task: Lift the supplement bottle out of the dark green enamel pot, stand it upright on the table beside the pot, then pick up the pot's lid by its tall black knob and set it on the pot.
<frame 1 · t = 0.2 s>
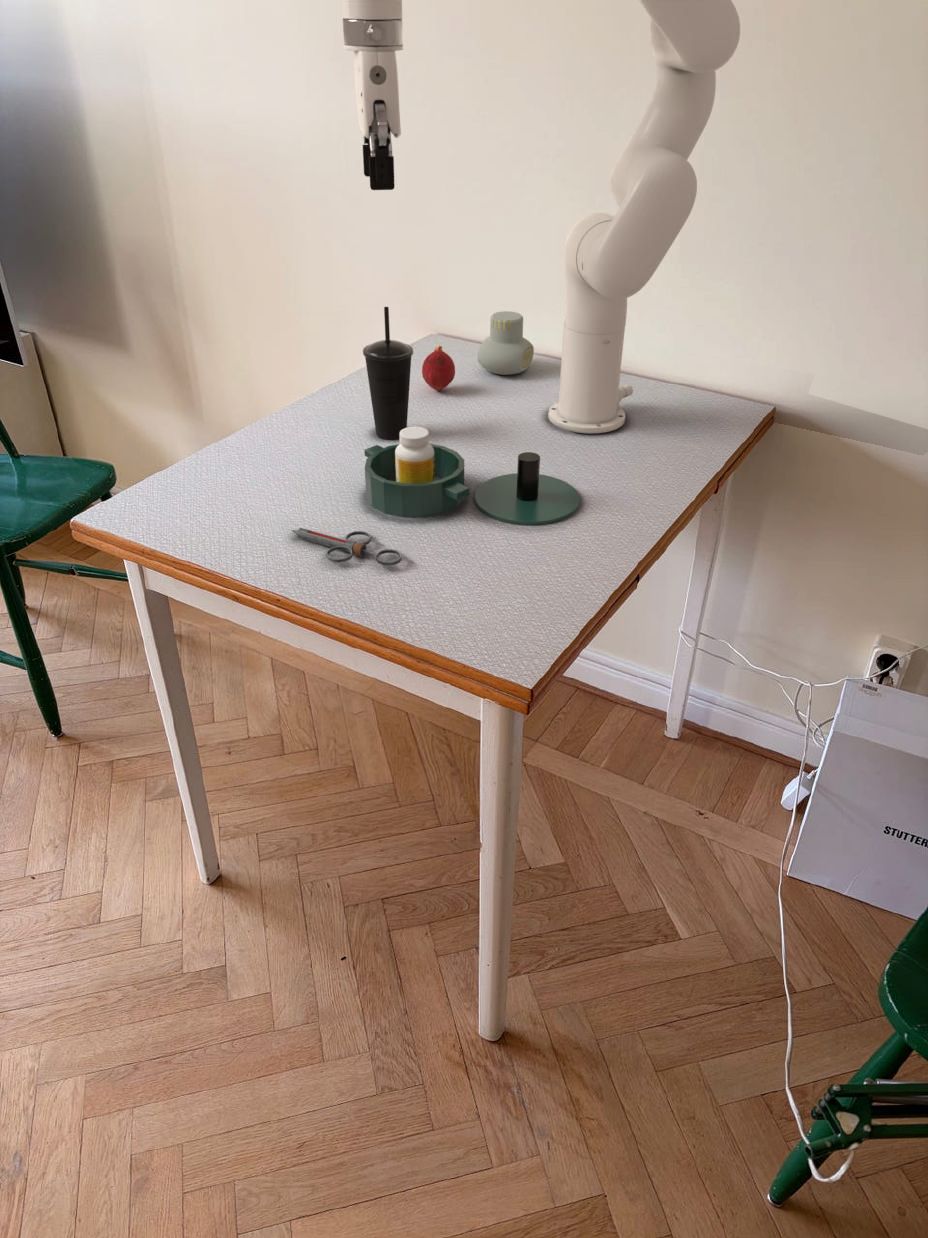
hand: (378, 182, 129), 37 cm above the table, tool pointing down, fingers open, 9 cm apart
onion: (438, 392, 166), on the table
drinking cup: (391, 434, 151), on the table
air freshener: (505, 371, 174), on the table
supplement bottle: (415, 497, 132), resting on pot
pot: (415, 497, 132), on the table
syringe: (339, 550, 121), on the table
lid: (526, 499, 131), point 1 cm above the table
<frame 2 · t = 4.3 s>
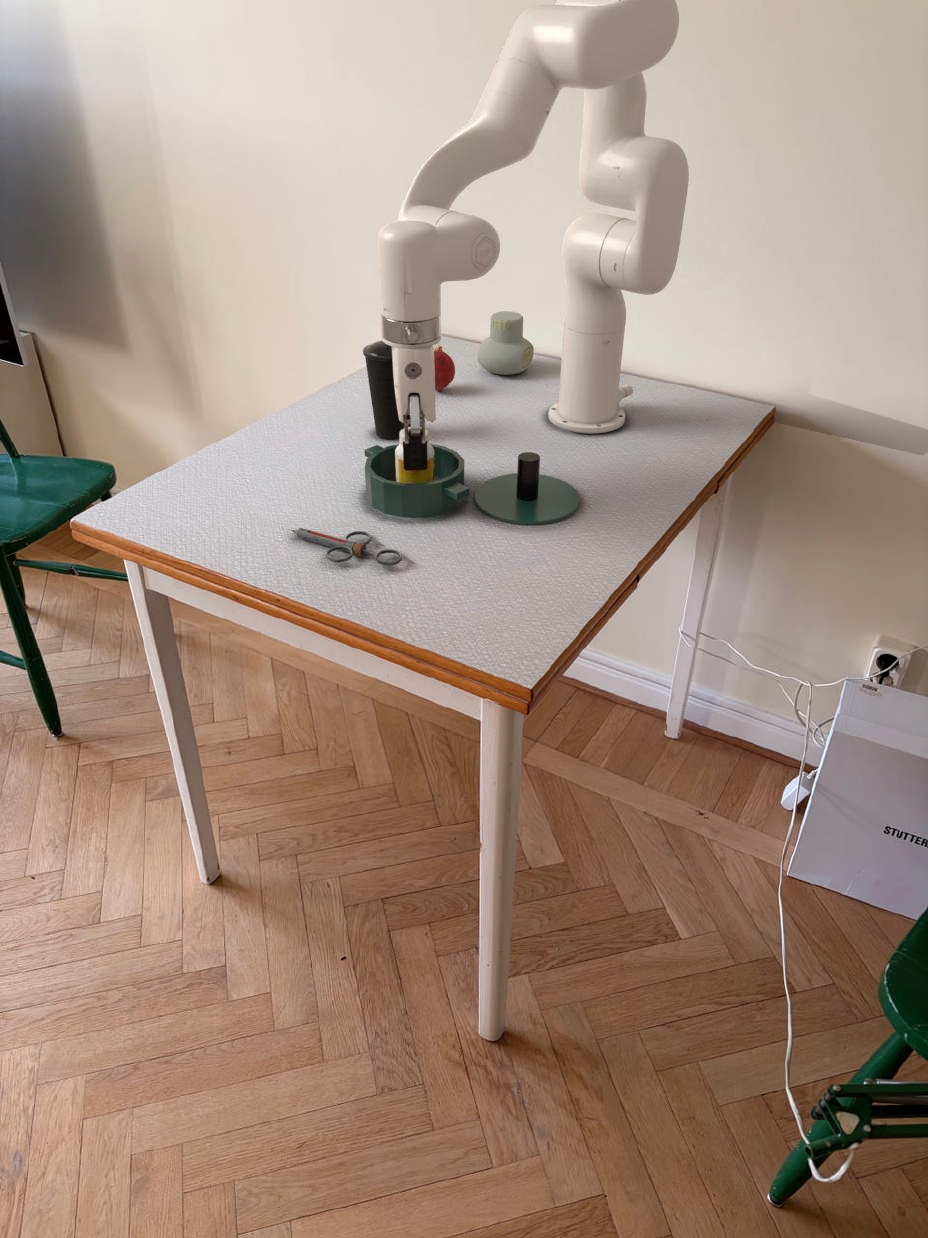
hand: (414, 458, 129), 6 cm above the table, tool pointing down, fingers closed on supplement bottle, 5 cm apart
supplement bottle: (415, 496, 132), resting on pot, touching gripper
everything else where it was.
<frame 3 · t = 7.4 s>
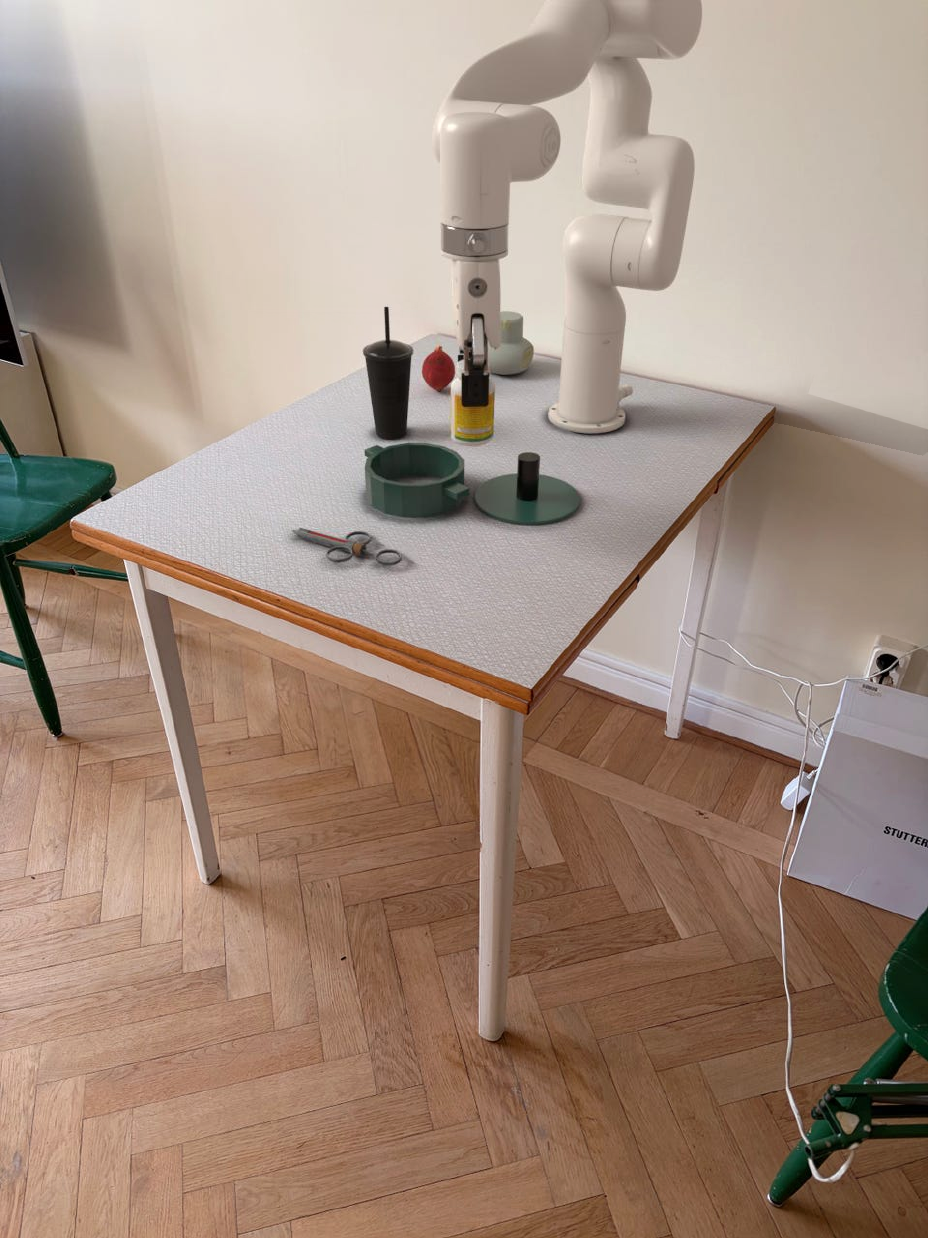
hand: (472, 394, 114), 19 cm above the table, tool pointing down, fingers closed on supplement bottle, 5 cm apart
supplement bottle: (472, 440, 118), point 13 cm above the table, touching gripper
everything else where it was.
when the fingers open (6 cm above the table, at t = 10.7 s): supplement bottle stays where it is, on the table.
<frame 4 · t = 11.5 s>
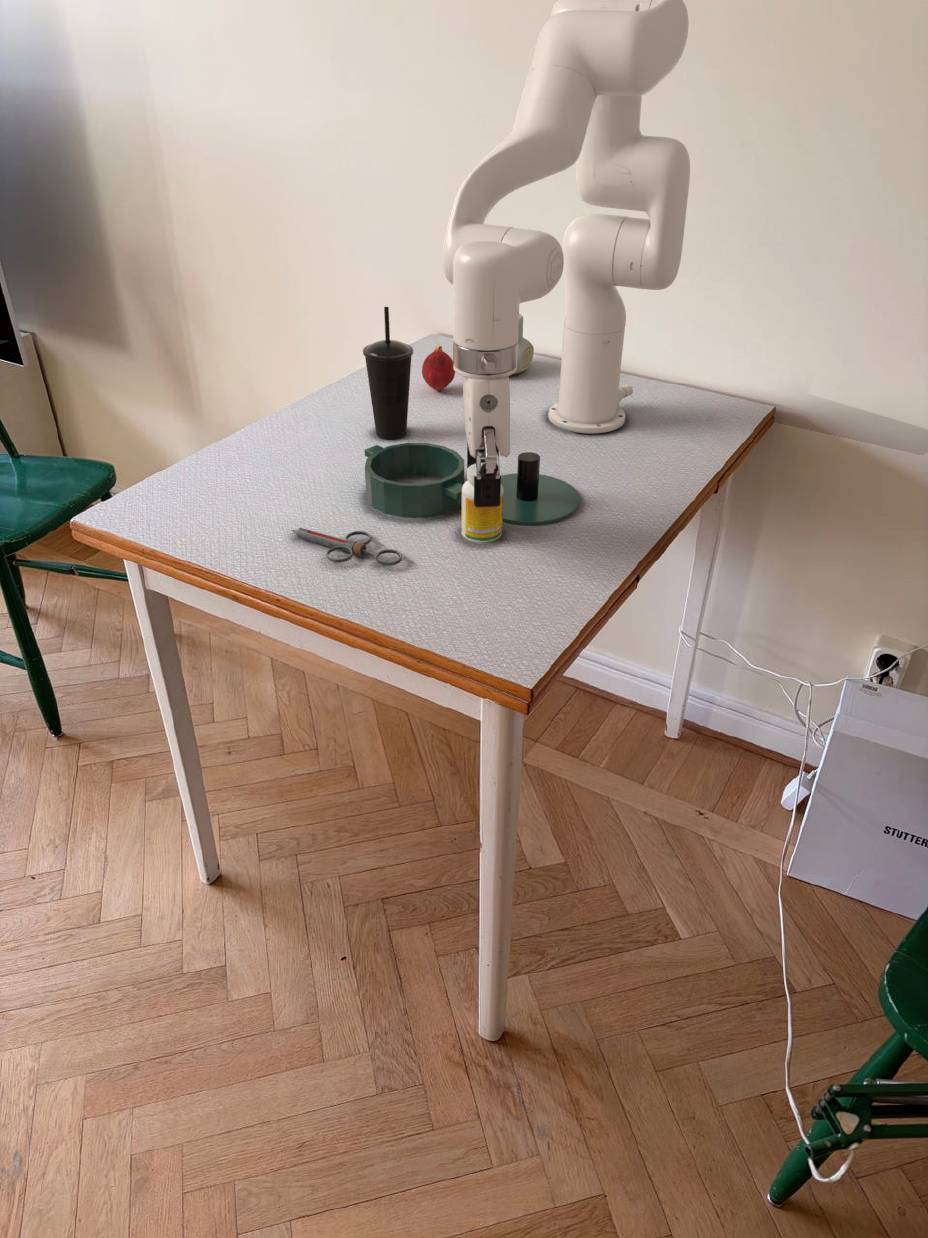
hand: (483, 487, 120), 7 cm above the table, tool pointing down, fingers open, 9 cm apart
supplement bottle: (481, 536, 124), on the table
everything else where it was.
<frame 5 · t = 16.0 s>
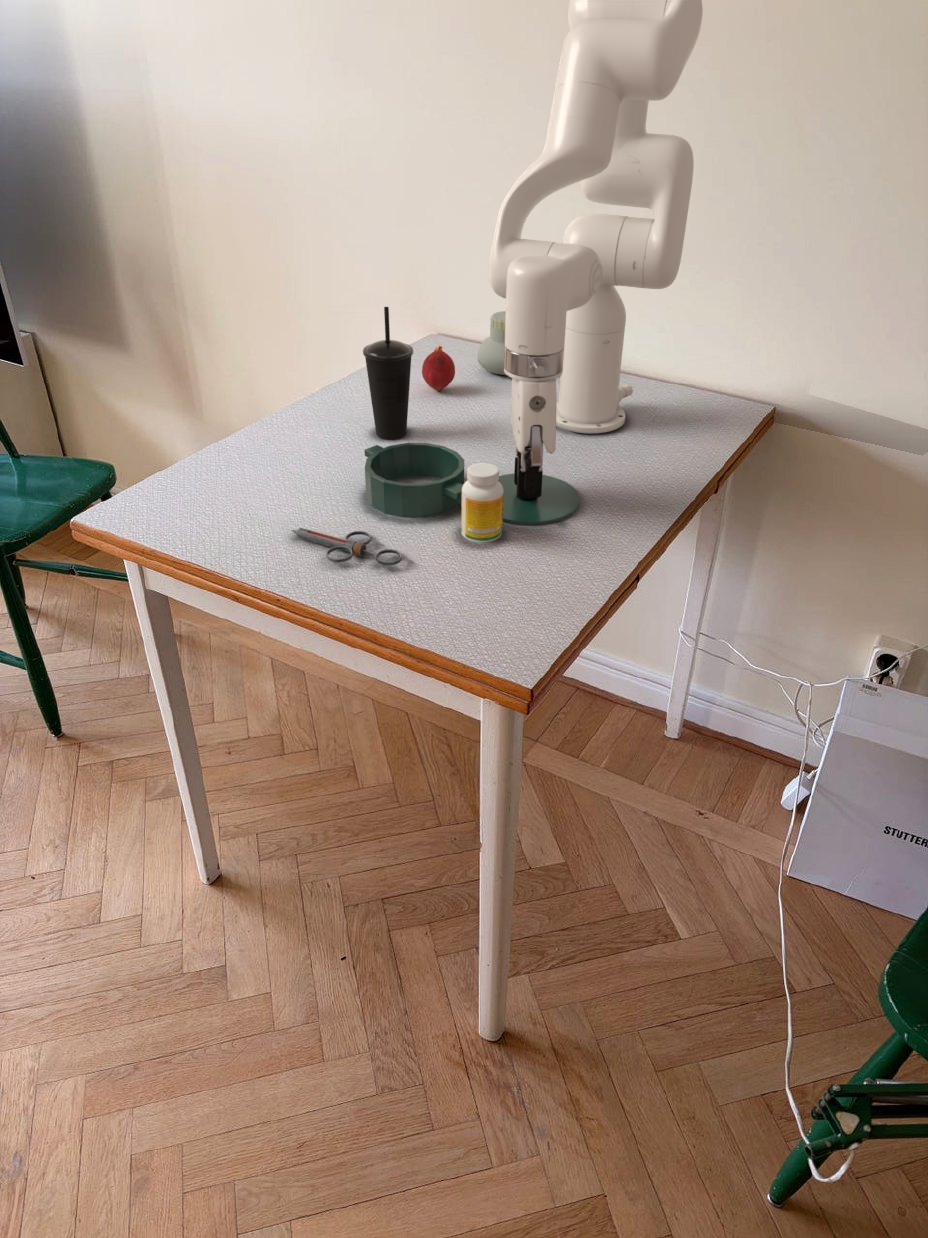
hand: (527, 489, 130), 2 cm above the table, tool pointing down, fingers closed on lid, 3 cm apart
lid: (526, 499, 131), point 1 cm above the table, touching gripper
everything else where it was.
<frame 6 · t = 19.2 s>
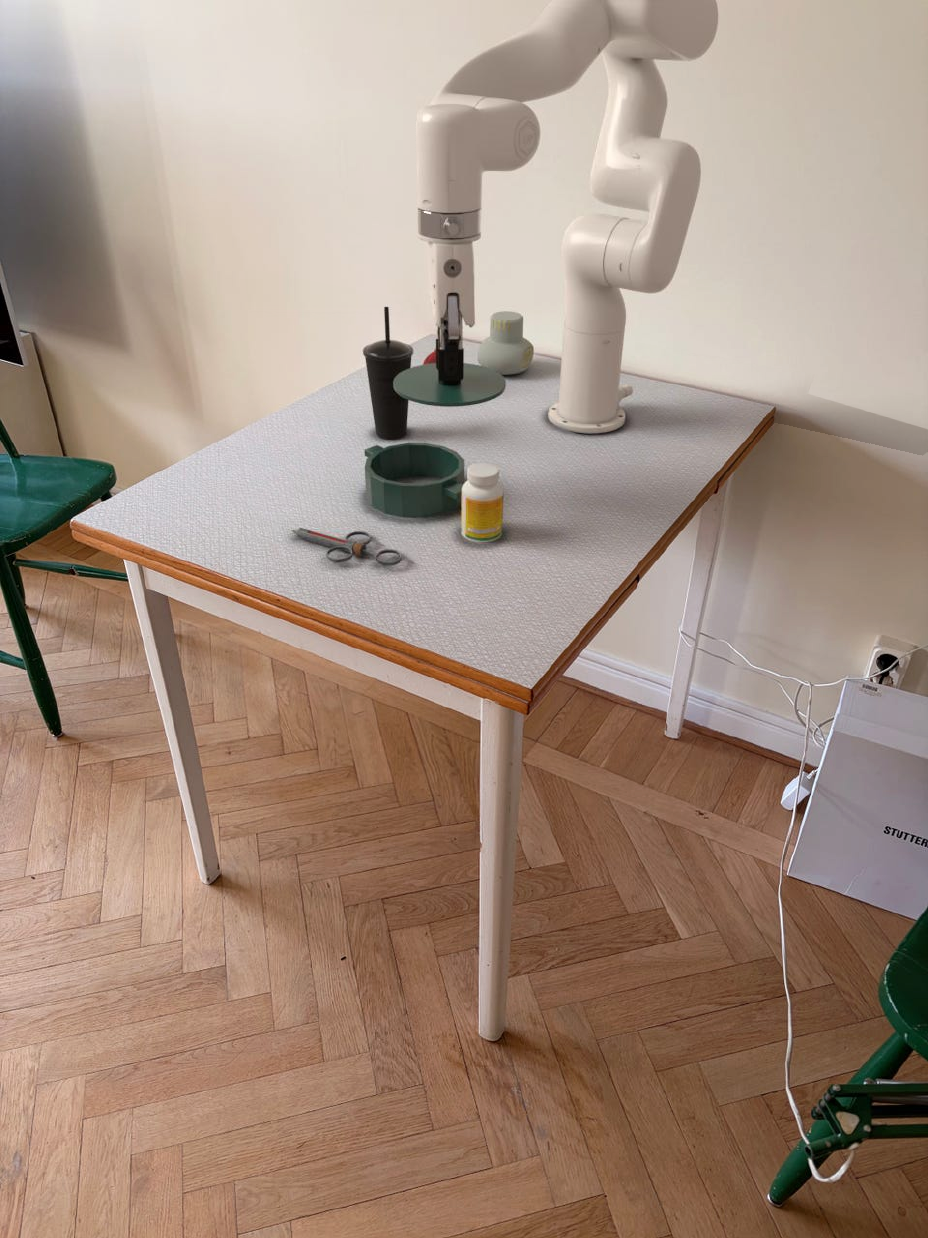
hand: (449, 373, 122), 18 cm above the table, tool pointing down, fingers closed on lid, 3 cm apart
lid: (449, 385, 122), point 17 cm above the table, touching gripper
everything else where it was.
when the fingers open (7 cm above the table, at t = 22.5 s): lid stays where it is, resting on pot.
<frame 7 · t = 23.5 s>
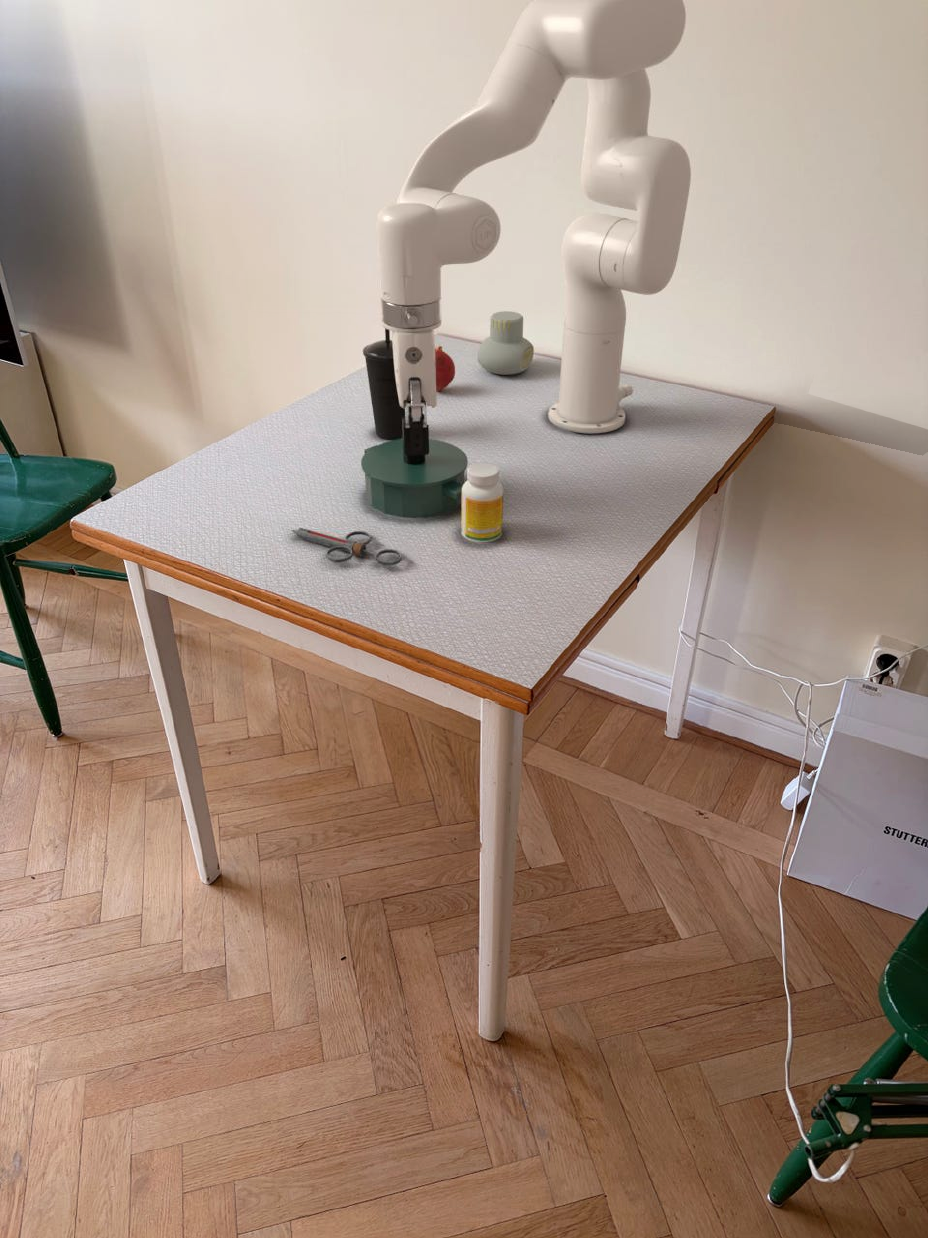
hand: (415, 438, 127), 9 cm above the table, tool pointing down, fingers open, 9 cm apart
lid: (414, 463, 129), point 5 cm above the table, touching pot
everything else where it was.
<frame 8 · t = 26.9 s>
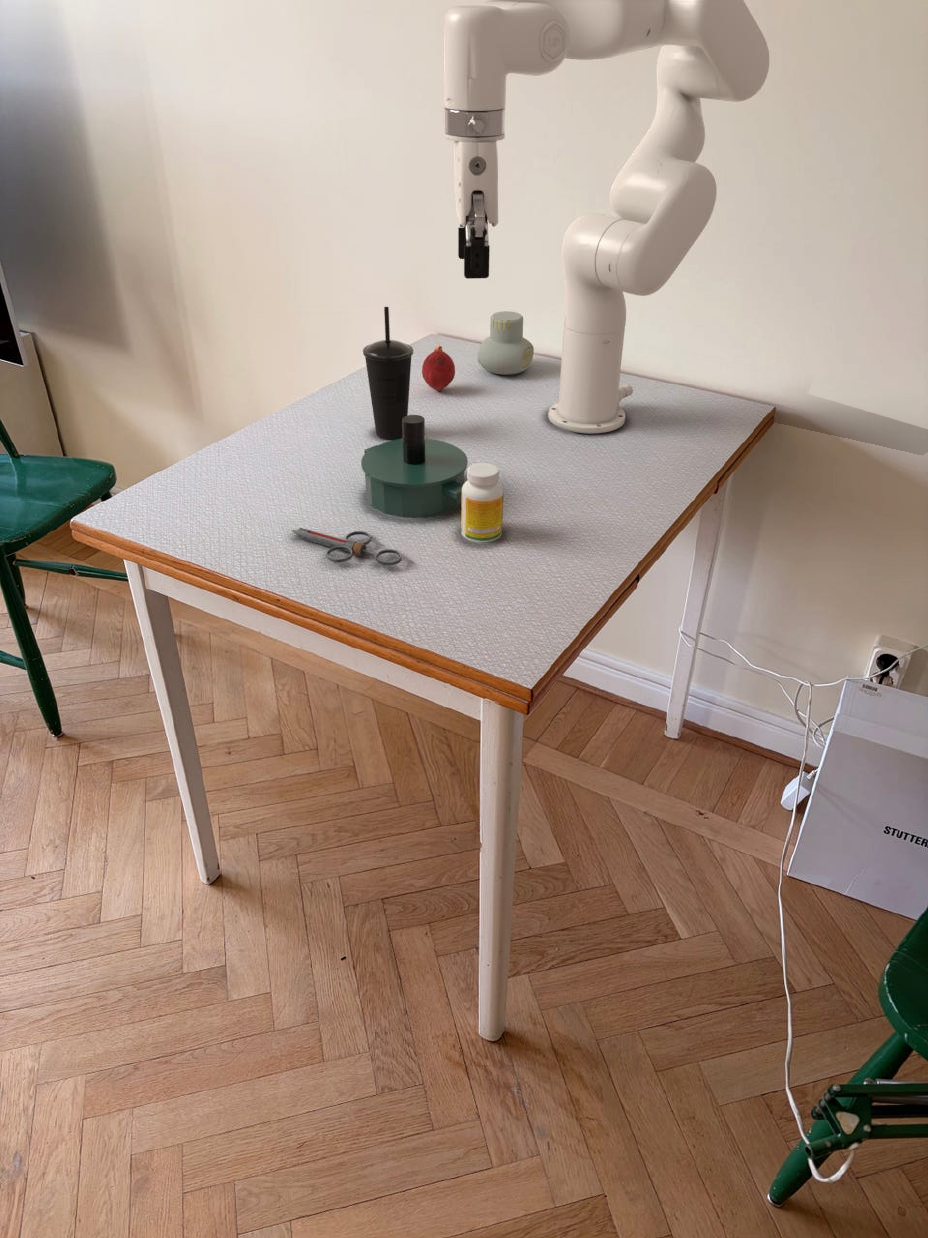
hand: (473, 267, 126), 28 cm above the table, tool pointing down, fingers open, 9 cm apart
nothing on the table moved.
at the end: supplement bottle inside the target area (0.1 cm from its centre), on the table; supplement bottle tilted 0°; lid 0.1 cm off-centre on the pot, point 5.3 cm above the pot's base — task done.
